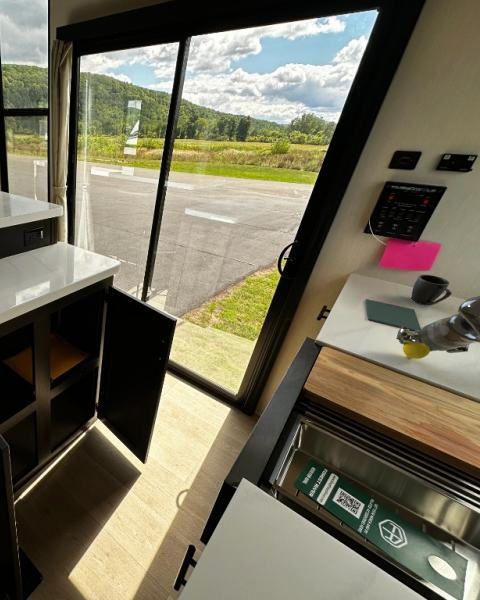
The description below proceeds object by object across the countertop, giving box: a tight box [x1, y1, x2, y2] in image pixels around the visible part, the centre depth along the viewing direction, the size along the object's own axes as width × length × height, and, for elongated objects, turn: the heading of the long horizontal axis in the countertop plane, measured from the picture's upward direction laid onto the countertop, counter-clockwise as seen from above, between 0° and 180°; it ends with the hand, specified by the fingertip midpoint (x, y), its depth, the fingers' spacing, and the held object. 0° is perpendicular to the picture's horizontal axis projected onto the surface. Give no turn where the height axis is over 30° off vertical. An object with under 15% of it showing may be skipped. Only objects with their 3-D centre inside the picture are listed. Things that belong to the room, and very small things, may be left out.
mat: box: [365, 298, 422, 331], centre depth 115 cm, size 14×16×1 cm
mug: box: [410, 274, 453, 306], centre depth 118 cm, size 8×12×10 cm
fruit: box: [402, 342, 431, 360], centre depth 94 cm, size 6×6×8 cm
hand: (415, 344), depth 95 cm, fingers closed on fruit, 5 cm apart
